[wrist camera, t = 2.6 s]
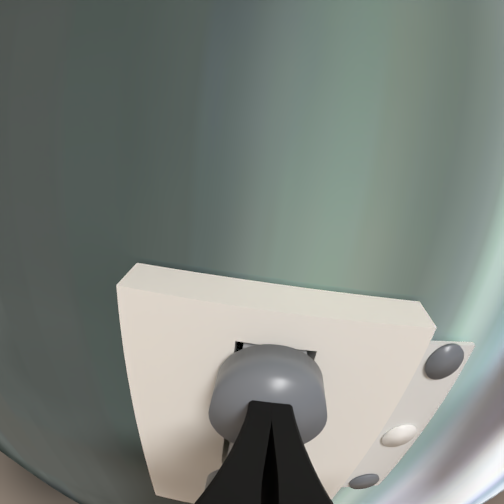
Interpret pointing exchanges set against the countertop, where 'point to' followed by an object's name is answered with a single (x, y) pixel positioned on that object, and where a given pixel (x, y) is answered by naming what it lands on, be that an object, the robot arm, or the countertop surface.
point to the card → (412, 411)
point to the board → (259, 332)
